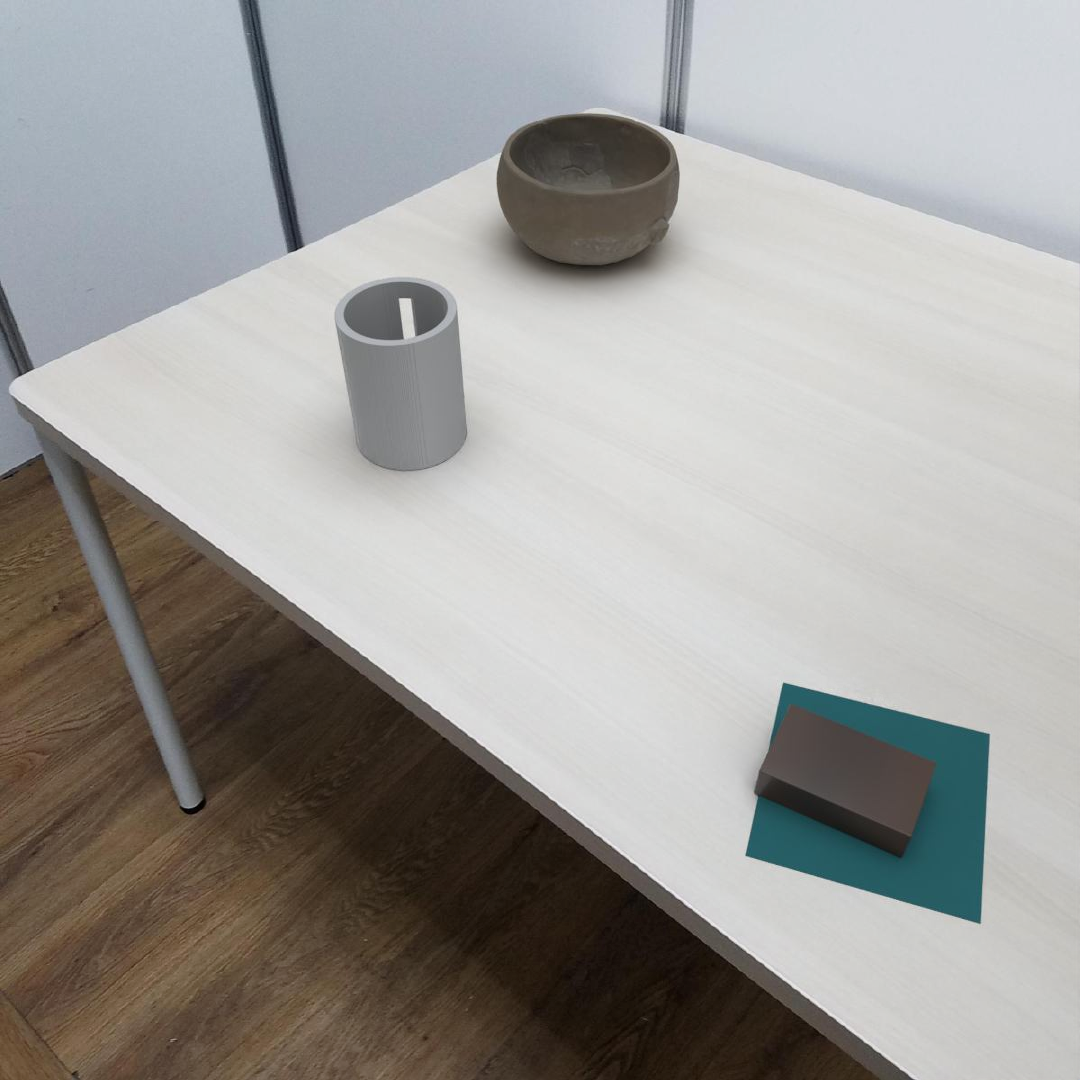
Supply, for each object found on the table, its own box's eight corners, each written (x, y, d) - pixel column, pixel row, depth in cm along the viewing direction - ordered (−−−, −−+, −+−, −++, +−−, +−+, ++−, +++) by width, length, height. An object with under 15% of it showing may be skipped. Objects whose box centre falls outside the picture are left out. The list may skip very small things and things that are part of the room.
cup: (380, 483, 84) (359, 359, 75) (341, 419, 90) (318, 296, 81) (484, 448, 87) (476, 324, 78) (440, 388, 93) (428, 265, 84)
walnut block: (926, 785, 65) (937, 762, 63) (901, 859, 61) (911, 837, 59) (784, 726, 68) (790, 702, 66) (753, 793, 64) (758, 770, 63)
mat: (988, 735, 67) (989, 733, 67) (979, 924, 59) (980, 923, 59) (782, 684, 70) (783, 682, 70) (745, 856, 62) (745, 855, 62)
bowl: (703, 264, 106) (713, 169, 99) (537, 304, 102) (536, 207, 94) (627, 187, 117) (632, 97, 110) (475, 220, 113) (470, 127, 106)
